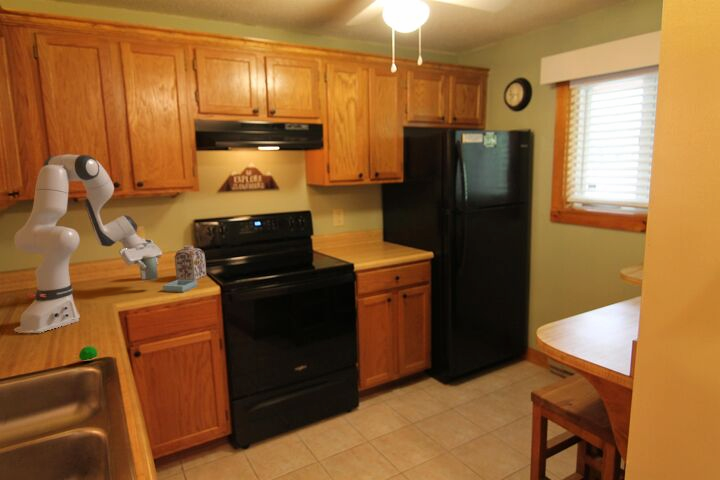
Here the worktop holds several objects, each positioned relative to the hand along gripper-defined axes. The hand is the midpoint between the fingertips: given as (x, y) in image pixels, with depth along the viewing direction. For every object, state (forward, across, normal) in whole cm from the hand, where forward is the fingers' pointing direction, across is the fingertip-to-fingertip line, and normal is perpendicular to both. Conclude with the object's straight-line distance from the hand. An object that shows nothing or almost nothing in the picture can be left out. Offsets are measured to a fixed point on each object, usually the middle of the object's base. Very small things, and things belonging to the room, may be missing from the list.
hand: (151, 266), depth 224 cm
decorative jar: (+9, +26, +8) cm, 28 cm away
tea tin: (+4, 0, +5) cm, 6 cm away
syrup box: (-8, +17, +25) cm, 31 cm away
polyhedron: (+44, -70, -25) cm, 87 cm away
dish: (+17, +6, 0) cm, 18 cm away
